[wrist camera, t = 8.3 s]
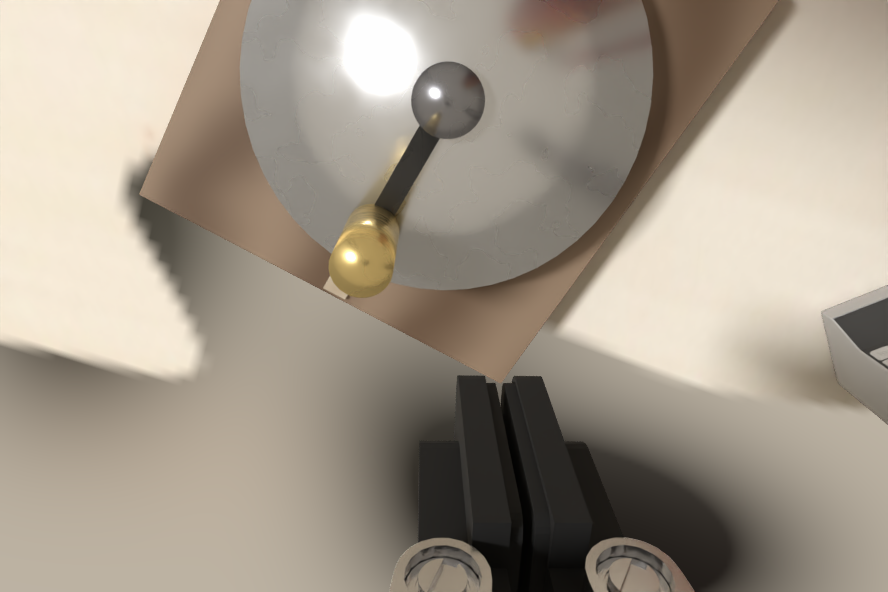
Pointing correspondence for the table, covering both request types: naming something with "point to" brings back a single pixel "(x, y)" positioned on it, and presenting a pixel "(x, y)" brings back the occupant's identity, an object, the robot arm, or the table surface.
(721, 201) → the table surface
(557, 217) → the dial
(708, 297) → the table surface
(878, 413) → the vintage mobile phone
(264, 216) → the base board
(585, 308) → the table surface
